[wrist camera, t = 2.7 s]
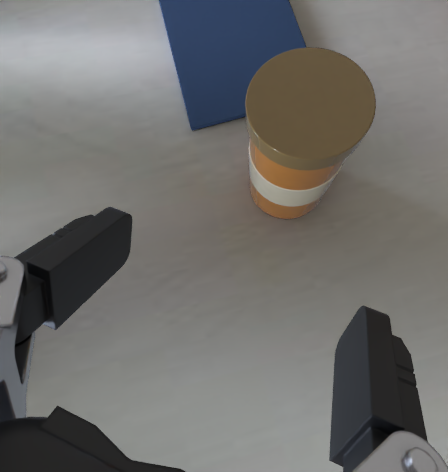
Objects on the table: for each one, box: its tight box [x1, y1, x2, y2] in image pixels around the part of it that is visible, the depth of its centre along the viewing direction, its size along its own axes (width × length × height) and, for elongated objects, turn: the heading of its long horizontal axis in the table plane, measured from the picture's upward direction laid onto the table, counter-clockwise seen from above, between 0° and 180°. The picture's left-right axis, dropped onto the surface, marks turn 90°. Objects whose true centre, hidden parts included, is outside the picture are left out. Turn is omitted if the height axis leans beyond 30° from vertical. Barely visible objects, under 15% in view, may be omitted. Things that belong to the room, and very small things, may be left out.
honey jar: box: [245, 47, 376, 219], centre depth 20 cm, size 6×6×10 cm
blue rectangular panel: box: [159, 0, 306, 131], centre depth 29 cm, size 11×20×1 cm, turn 14°
